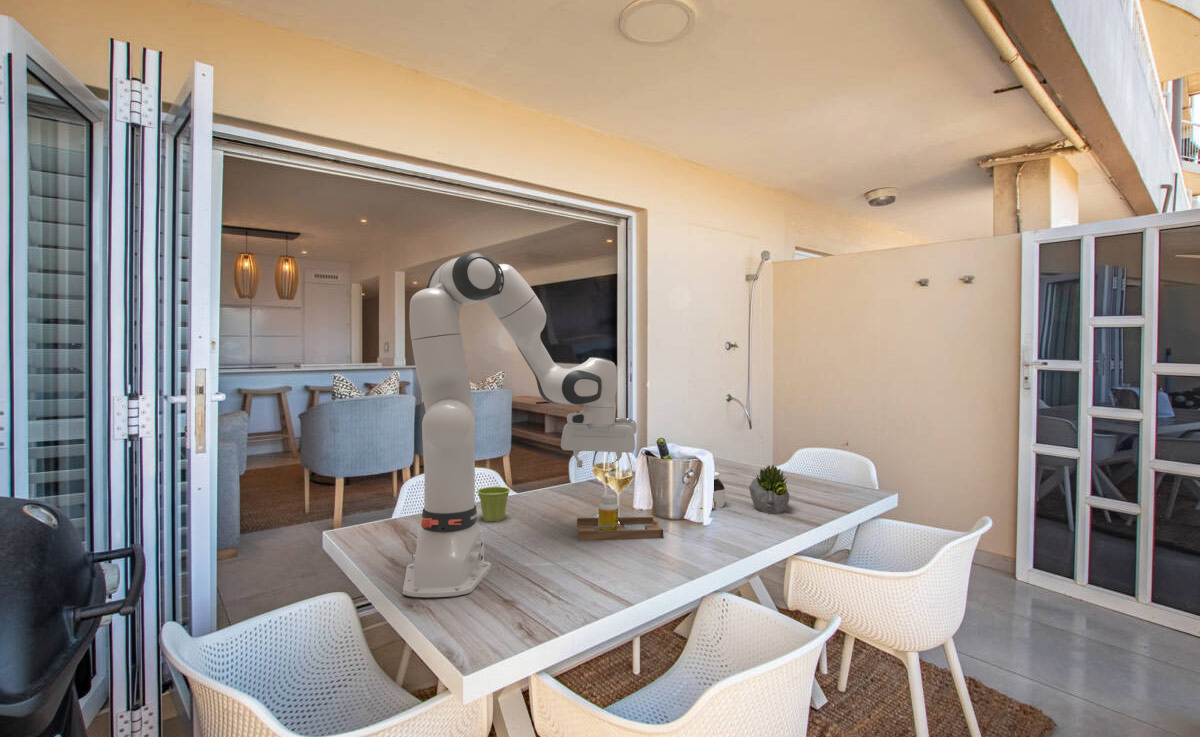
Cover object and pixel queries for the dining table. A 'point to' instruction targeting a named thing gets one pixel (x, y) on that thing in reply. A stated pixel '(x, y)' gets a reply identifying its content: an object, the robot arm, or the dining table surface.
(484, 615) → the dining table surface
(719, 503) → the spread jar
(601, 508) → the supplement bottle
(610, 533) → the frame
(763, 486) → the potted plant
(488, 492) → the plant pot
